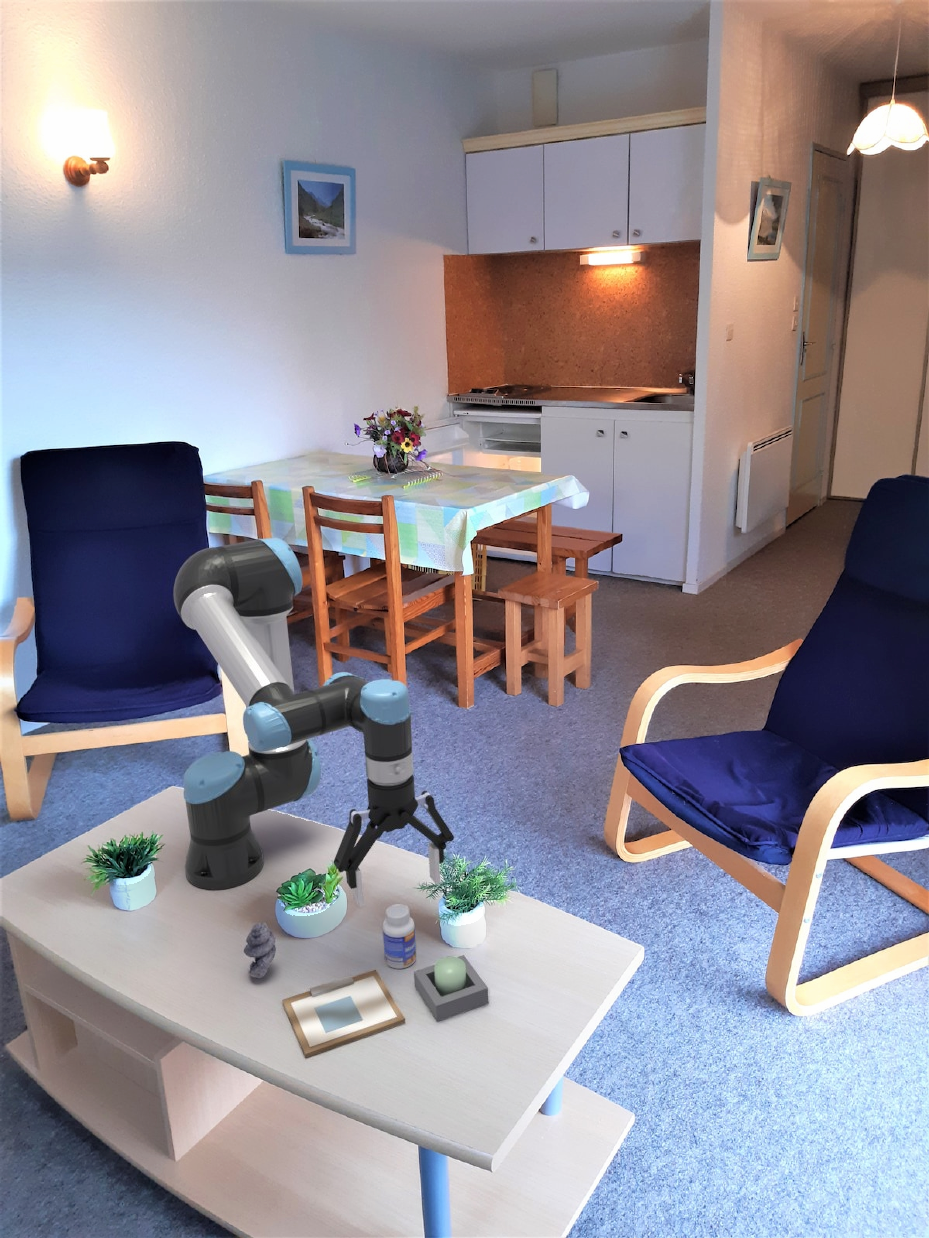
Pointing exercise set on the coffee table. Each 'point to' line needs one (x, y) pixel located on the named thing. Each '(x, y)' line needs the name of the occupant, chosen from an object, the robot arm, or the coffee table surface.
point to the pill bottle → (399, 937)
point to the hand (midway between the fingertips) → (397, 891)
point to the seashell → (260, 949)
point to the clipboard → (342, 1012)
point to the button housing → (455, 1001)
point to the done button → (450, 975)
